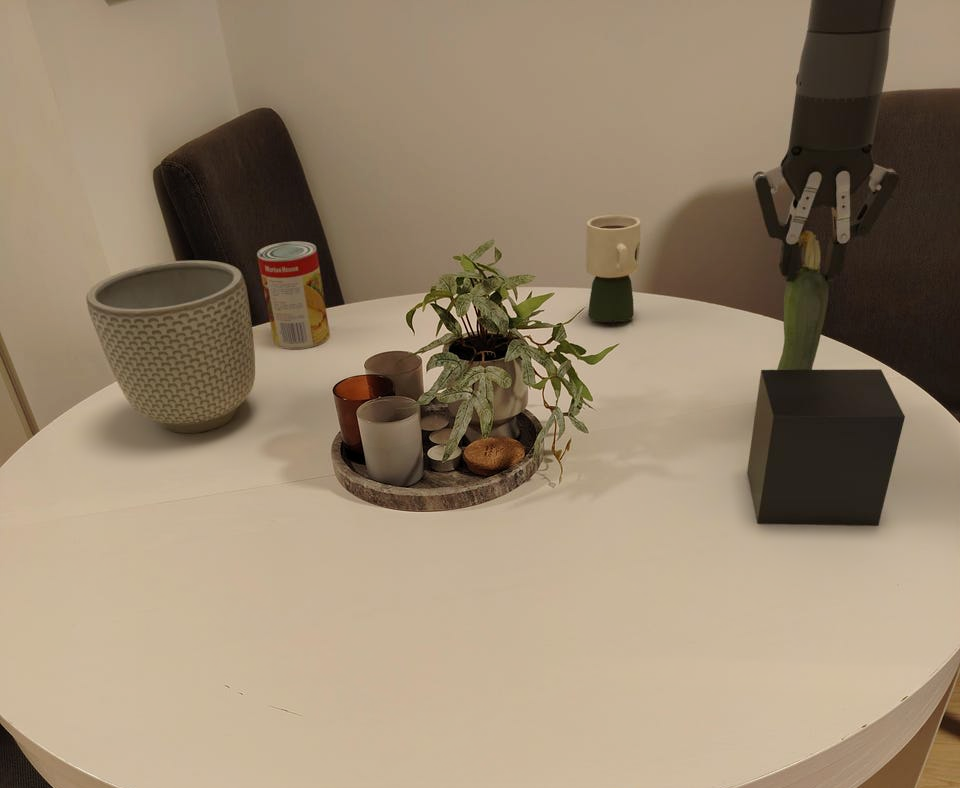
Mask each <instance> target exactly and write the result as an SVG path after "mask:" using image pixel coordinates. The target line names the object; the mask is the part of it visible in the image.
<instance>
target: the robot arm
mask: <svg viewBox="0 0 960 788" xmlns="http://www.w3.org/2000/svg"><path fill="white" fill-rule="evenodd" d="M896 2H897V0H810V5H809V7H810V8H809V15H808V20H807V30H806V34H805V38H804V42H803V47H802V50H801V54H800V60H799V66H798V72H797V74H796V79H795V86H796V87H795V88H796V89H795V94H794V95H795V96H794V103H793V111H792V117H791V126H790V134H789V140H788V141H789V142H788V148H787V151H786V154H785V156H783V158H782V160H781V162H780V165H779V166H778V167H775V168H772V169H770V170H768V171H766V172H764V171H761V170H760V171H757V172H756V173H754V174H753V177H752V181H753V186H754V189H755V193H756V197H757V200H758V203H759V207H760V210H761V214H762V217H763V223H764V225H765V229H766V231H767V234H768V236H769V237H770V238H772V239H777V240H780V241H781V242H782V243H781V250H780V257H779V264H778V268H779V271H780V275H781V276H782V277H784V279H785V282H787V283H788V282H789V281H794V277H795V272H797V271H796V270H797V263H798V256H799V251H800V250H799V249H800V246H799V243H798V239H799V236H800V234H801V233H802V232H803V231H802V230H803V228H804V225H805V222H806V221H807V220H808V217H809V214H810V211H811V209H815V208H818V207H822V206H823V207H826V208H827V207H828V208H831V214H832V232H833V233H832V237H829V241H828V246H827V252H826V257H825V264H824V271H823V274H824V276H825V277H826V281H827V282H834V281H835V279H836V276H840V275H841V274H842V271H843V270H844V263H845V258H846V253H847V247H848V243H849V242H850V241H851V240H852V239H854V238H857V237H866V236H867V235H869V234H870V232H871V231H872V229H873V227H874V226H875V223H876V222H877V220H878V218H879V216H880V215H881V213H882V212H883V210H884V208H885V206H886V205H887V203H888V201H889V199H890V198H891V197H892V194H893V192H894V191H895V189H896V187H897V186H898V184H899V182H900V176H899V175H898V173H897V172H896V171H895V169H893V168H891V167H886V168H885V167H883V166H881V165H878V164H876V163H875V159H874V156H873V145H874V144H873V143H874V139H875V133H876V127H877V123H878V117H879V111H880V107H881V100H882V96H883V90H884V85H885V79H886V72H887V68H888V63H889V62H888V61H889V56H890V55H889V54H890V38H891V30H892V29H891V27H892V24H893V18H894V12H895V6H896ZM869 177H870V180H869V183H868V187H869V189H870V191H869V193H868V195H867V196H866V199H865V200H864V202H863V204H862V206H861V207H860V209H859V211H858V213H857V214H856V215H855V218H854V219H853V220H851V197H852V196H853V195H854V194H855V192H857V190H859V188H860V187H861V186H862V185H863V184H864V182H865V181H866V180H867V178H869ZM782 179H784V181H785V183H786V184H787V186H788V188H789V189H790V192H791V193H792V195H793V197H792V201H791V204H790V205H789V211H788V216H787V218H786V221H785V223H784V222H782V221H779V217H778V213H777V210H776V209H777V208H776V205H775V202H774V198H773V196H774V195H776V194H777V193H778V192H779V188H780V187H779V184H780V182H781V180H782Z"/></svg>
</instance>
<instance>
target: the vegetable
mask: <svg viewBox="0 0 960 788" xmlns="http://www.w3.org/2000/svg"><path fill="white" fill-rule="evenodd" d="M798 243H799V247H801V246H802V247H801V255H800V260H801V263H802V268H801V269H799V270H797V271H795V277H794V281H789V282H787V283H786V287H785V291H784V296H783V297H784V299H783V333H784V334H783V335H784V338H783V339H784V341H783V348H782V352H781V356H780V359H779V362H778V366H777V368H776V370H813V367H814V362H815V359H816V355H817V351H818V348H819V344H820V339H821V334H822V331H823V327H824V323H825V319H826V313H827V308H828V302H829V283H828V282H829V281H826V277H825V276H824V272H823V271H821V270H820V269H821V263H822V257H821V249H820V248H821V246H820V241H819V240H818V239H817V235H816V234H814V233H813V231H811V230H809V229H806V230H804V231H801V233H800V236H799V239H798ZM802 244H803V245H802Z"/></svg>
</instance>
